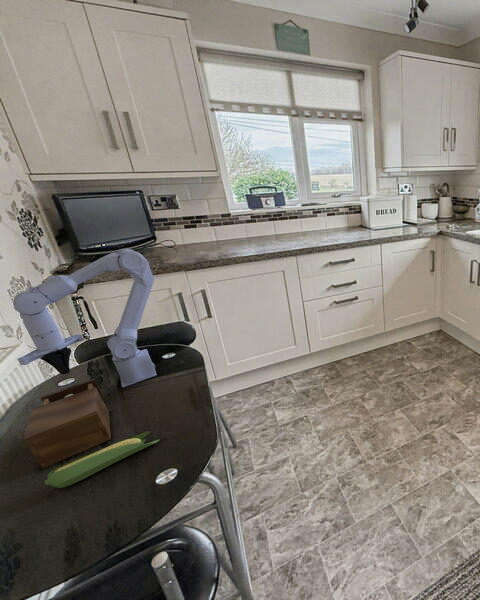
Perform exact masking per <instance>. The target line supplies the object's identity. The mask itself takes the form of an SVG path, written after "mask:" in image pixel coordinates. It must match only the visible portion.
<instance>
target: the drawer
mask: <svg viewBox="0 0 480 600" xmlns="http://www.w3.org/2000/svg"><path fill="white" fill-rule="evenodd" d="M94 387H96V388H97V390H98V392H99V394H100V396H101V398H102V400H103V401H105V396H104V394H103V392H102V390H101V388H100V386H99V384H98V383H97V379H95V378H91V379H89V380H85V381H82V382H79V383H76V384H74V385H70V386H68V387H65V388H61V389H59V390H56V391H52V392H49V393H47V394H45V395H42V396H40V400H41V401H42V406H43V405H46V404H49V403H52V402H54V401H57V400H60V399H63V398H65V396H67V395H69V394H73V395H74V394H77V393H80V392H83V391H86V390H88V389H91V388H94Z"/></svg>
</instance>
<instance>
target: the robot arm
mask: <svg viewBox="0 0 480 600" xmlns="http://www.w3.org/2000/svg"><path fill="white" fill-rule="evenodd" d="M121 268H122V269H123V270H125V271H126V272H127V273H128V274H129V276H130V277H131V278H132V279H133V282H132V286H131V289H130V291H129V295H128V297H127V300H126V303H125V306H124V310H123V312H122V315H121V317H120V321H119V324H118V326H117V327H116V328H115V330H114V332H113V333H112V335H111V336H110V337H109V338H108V340H107V342H106V345H107V348H108V349H109V350H110V352H111V355H112V357H111V360H112V362H113V365H114V367H115V369H116V372H117V373H118V375H119V377H120V385H121V388H126V387H130V386H132V385H134V384H137V383H140V382H142V381H146V380H147V379H151V378H154V377H156V376H157V371H156V365H155V363H153V361H152V359H151V356H150V354H149V351H148V349H147V348H146V349H145V348H144V349H138V346H137V340H138V329H139V326H140V323H141V320H142V317H143V315H144V311H145V309H146V306H147V302H148V299H149V297H150V294H151V291H152V287H153V285H154V282H155V277H154V273H153V272H152V269H151V267H150V263H149V261H148V259H146V258H145V256H144V255H143V254H141V253H140V252H138V251H135V250H133V249H131V248H121V249H119V250H117V251H116V252H115V251H114V252H111V253H108V254H106V255H104V256H102V257H100V258H98V259H97V260H95V261H93V262H91V263H89V264H87V265H86V266H84V267H82V268H80V269H78V270H76V271H75V272H73V273H70V274H69V275H65V274H58V275H55V276H54V275H50V276H48V277H47V280H46V281H43V282H42V283H39V284H38V285H36V286H29V287H27V290H24V291H20V292H18V293H17V294H16V295H15V296H14V298H13V308H14V309H15V311H17V312H18V313H19V316H20V318H21V319H22V323H23V325H24V328H25V329H26V330H27V333H28V335H29V336H30V339H31V340H32V342H33V344H34V346H35V349H34V350H32V351H31V352H28V353H26V354H24V355H22V356H20V357H17V361H18V363H19V365H20V366H27V365H30V364H31V363H32V362H34V361H37V360H42V361H44V362H45V363H47V364H48V365H50V366H51V367H52V368H53V369H55V370H56V371H57V372H58V374H60V375H67V374H69V373H71V369H70V357H71V354H72V348H71V347H69V346H72V345H74V344H76V343H79V342H83V341H84V337H83V335H82V334H74V335H72V336H68V337H65V338H64V337H63V335H62V332H61V330H60V329H59V327H58V325H57V323H56V320H55V318H54V316H53V315H52V313H50V311H49V309H48V307H47V305H53V304H54V303H56V302H58V301H60V300H62V299H64V298H66V297H67V296H70V295H71V294H73V293H75V292H77V290H78V285H80V284H82V283H85V282H87V281H89V280H90V279H93V278H95V277H97V276H98V275H101V274H103V273H105V272H108V271H109V272H110V271H111V272H112V271H114V272H115V271H118V272H119V271H121Z"/></svg>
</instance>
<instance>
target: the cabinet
mask: <svg viewBox="0 0 480 600" xmlns="http://www.w3.org/2000/svg"><path fill="white" fill-rule="evenodd" d="M110 421H111V420H110V412H109V410H108V408H107V406H106V404H105V402H104V400H102V398H101V396H100V394H99V392H98V390H97V388H96V387H94V388H91V389H88V390H86V391H83V392H80V393H77V394H74V395H71V396H69V397H66V398H63V399H60V400H57V401H54V402H52V403H49V404H46V405H43V404H42V405H41V406H38V407H35V408H32V409H31V412H30V415H29V419H28V423H27V426H26V430H25V432H24V436H23V441H24V442H25V444H26V446H27V447H28V449H29V450H30V452H31V454H32V455H33V456H34V457H35V459H36V461H37V462H38V464H39V465H40V468H42V469H45V468H48V467H50V466H53V465H55V464H57V463H59V462H62V461H65V460H67V459H69V458H71V457H73V456H76V455H78V454H81V453H83V452H85V451H87V450H90V449H92V448H94V447H96V446H98V445H99V446H100V445H101V444H103V443H106V442H108V441H110V440H111V439H112V438H111V423H110Z"/></svg>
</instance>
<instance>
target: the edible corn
mask: <svg viewBox="0 0 480 600" xmlns="http://www.w3.org/2000/svg"><path fill="white" fill-rule="evenodd" d="M151 432H152V430H150V431H144V432H142V433H139V434H137V435H134V436H131V437H129V438H126V439H123V440H121V441H118V442H115V443H113V444H110V445H107V446H105V447H102V448H100V449H97V450H95V451H92V452H90V453H89V452H88V453H87V454H85V455H82V456H79V457H77V458H75V459H72V460H69V461H67V462H64V463H63V464H61V465H58V466H57V467H55V468H54V469H52V470H51V471H50V472H49V473H48V474H47V478H46V479H44V484H45V485H46V486H51V487H53V488H56V489H63V488H67V487H70V486H72V485H75V484H76V483H79V482H81V481H83V480H84V479H87V478H89V477H91V476H92V475H95V474H96V473H99V472H100V471H102V470H105V469H106V468H108V467H110V466H112V465H114V464H116V463H118V462H120V461H122V460H124V459H126V458H128V457H129V456H132V455H134V454H135V453H138V452H140V451H142V450H144V449H147V448H148V447H150V446H153V445H155V444H157V443H158V442H160V441H161V439H155V440H153V441H150V442H147V443H145V442H146V439H144V438H145V437H146V436H148V435H149V434H150V433H151Z"/></svg>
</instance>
